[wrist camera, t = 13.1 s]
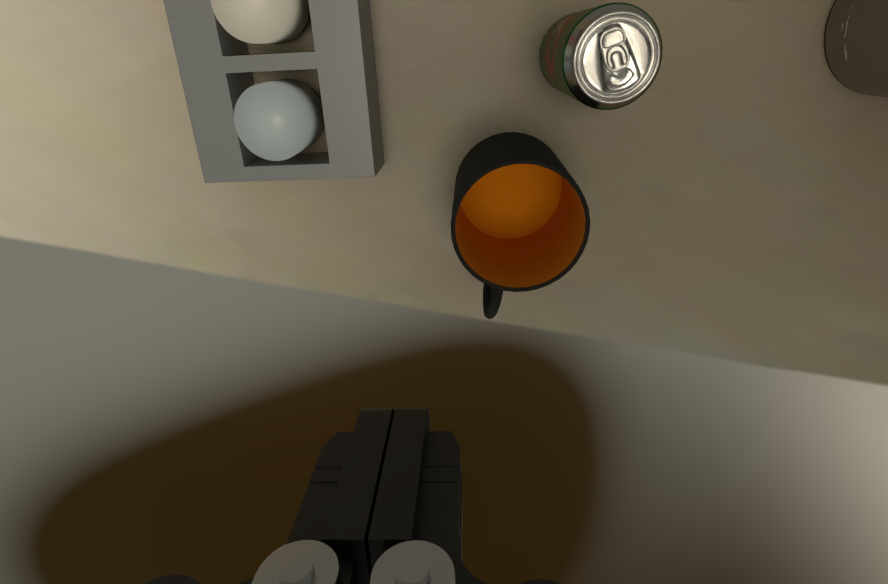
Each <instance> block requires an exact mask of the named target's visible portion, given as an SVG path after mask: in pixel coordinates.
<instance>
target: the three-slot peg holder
mask: <svg viewBox="0 0 888 584" xmlns="http://www.w3.org/2000/svg"><path fill="white" fill-rule="evenodd" d="M163 1H164V5H165V10H166V14H167V18H168V23H169V27H170V32H171V36H172V40H173V45H174V49H175V54H176V58H177V62H178V67H179V71H180V76H181V80H182V84H183V89H184V93H185V97H186V102H187V106H188V111H189V115H190V119H191V124H192V128H193V133H194V137H195V141H196V146H197V150H198V154H199V159H200V163H201V168H202V172H203V176H204V181H205V183H214V182H242V181H269V180H296V179H323V178H350V177H375V176H376V174H377V173H378V171H379V170H380V169H381V167H382V166H383V165H384V155H383V144H382V133H381V122H380V111H379V100H378V89H377V78H376V67H375V56H374V45H373V34H372V23H371V12H370V1H369V0H308V2H309V10H310V17H311V25H312V32H313V40H314V48H315V52H297V53H277V54H258V55H248V49H247V44H246V42H243V41H241V40H239V39H237V38H235V37H233V36H232V35H231V34H229V33H228V32H227V31H226V30H225V29H224V28H223V27H222V25H221V24H220V23H219V21H218V20H217V18H216V16H215V14H214V12H213V9H212V6H211V2H210V0H163ZM303 69H317V70H318V78H319V86H320V93H321V101H322V108H323V116H324V123H325V131H326V139H327V146H328V152H322V153H298V154H296V155H295V156H293V157H291V158H289V159H286V160H282V161H271V160H266V159H263V158H261V157H259V156H257V155H255V154H254V153H252V152H251V151H250V150H249V149H248V148H247V147H246V146H245V145H244V144H243V142H242V141H241V139H240V138H239V136H238V134H237V131H236V128H235V124H234V109H235V105H236V103H237V100H238V99H239V97H240V95H241V94H242V93H243V92H244V91H245V90H246V89H248V88H249V87H251V86H253V85H254V83H253V78H252V72H263V71H283V70H303Z"/></svg>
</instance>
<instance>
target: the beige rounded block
mask: <svg viewBox="0 0 888 584" xmlns="http://www.w3.org/2000/svg"><path fill="white" fill-rule="evenodd" d="M210 2H211V6H212V9H213V12H214V14H215V16H216V18H217V20H218V21H219V23H220V24H221V25H222V27H223V28H224V29H225V30H226V31H227V32H228V33H229V34H231V35H232V36H233V37H235V38H237V39H239V40H241V41H243V42H247V43H252V44H280V43H286V42H289V41H291V40H293V39H294V38H296V37H297V36H298V35H299V34H300V33H301V32H302V30H303V29H304V27H305V25H306V23H307V20H308V16H309V2H308V0H210Z"/></svg>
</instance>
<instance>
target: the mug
mask: <svg viewBox="0 0 888 584" xmlns="http://www.w3.org/2000/svg"><path fill="white" fill-rule="evenodd" d="M589 230H590V216H589V209H588V206H587V203H586V200H585V197H584V195H583V194H582V192H581V190H580V188H579V187H578V185H577V184H576V182H575V181H574V179H573V178H572V177H571V175H570V174H569V173H568V171H567V170H566V169H565V167H564V166H563V165H562V163H561V162H560V161H559V159H558V158H557V156H556V155H555V154H554V153H553V152H552V150H551V149H550V148H549V147H548V146H547V145H546V144H544V143H543V142H542V141H540V140H538V139H536V138H535V137H533V136H530V135H526V134H523V133H515V132H510V133H501V134H497V135H493V136H491V137H489V138H486V139H484V140H483V141H481V142H480V143H478V144H477V145H476V146H475V147H473V148H472V149H471V150H470V151H469V153H468V154H467V155H466V156H465V158H464V159H463V161H462V163H461V165H460V167H459V170H458V173H457V176H456V184H455V192H454V201H453V210H452V219H451V237H452V242H453V246H454V249H455V251H456V254H457V256H458V258H459V260H460V261H461V263H462V264H463V266H464V267H465V268H466V269H467V270H468V271H469V272H470V273H471V274H472V275H473V276H474V277H475V278H477V279H478V280H479V281H481V282H482V283H484V288H483V308H484V315H485V317H486V318H488V319H491V318H493V317H494V316H495V315H496V314H497V312H498V309H499V306H500V303H501V299H502V294H503V290H504V291H512V292H522V291H530V290H535V289H539V288H542V287H545V286H547V285H549V284H551V283H553V282H555V281H557V280H558V279H560V278H561V277H562V276H564V275H565V274H566V273H567V272H568V271H569V270H570V269H571V268H572V267H573V266H574V265H575V264H576V262H577V261H578V259H579V258H580V256H581V255H582V253H583V251H584V248H585V246H586V244H587V240H588V236H589ZM492 289H493V290H492Z"/></svg>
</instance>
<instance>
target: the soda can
mask: <svg viewBox="0 0 888 584" xmlns="http://www.w3.org/2000/svg"><path fill="white" fill-rule="evenodd" d="M661 59H662V39H661V36H660V32H659V30H658V27H657V25H656V23H655V22H654V21H653V19H652V18H651V17H650V16H649V15H648V14H647V13H646V12H645V11H643V10H642V9H640V8H639V7H636V6H634V5H631V4H627V3H609V4H605V5H601V6H598V7H594V8H591V9H587V10H584V11H580V12H577V13H573V14H570V15H567V16H565V17H563V18H561V19H560V20H558V21H557V22H556V23H554V24H553V25H552V26H551V28H550V29H549V30H548V31H547V33H546V35H545V37H544V39H543V41H542V44H541V48H540V66H541V70H542V72H543V75H544V76H545V78H546V80H547V81H548V82H549V83H550V84H551V85H552V86H553V87H554V88H556V89H558V90H559V91H561V92H563V93H565V94H567V95H568V96H570V97H572V98H574V99H576V100H578V101H579V102H581V103H583V104H585V105H587V106H589V107H592V108H595V109H600V110H611V109H617V108H620V107H624V106H626V105H628V104H630V103H632V102H633V101H635V100H637V99H638V98H639V97H640V96H641V95H643V94H644V93H645V92H646V90H647V89H648V88H649V87H650V86H651V84H652V83H653V81H654V79H655V77H656V75H657V73H658V71H659V68H660V65H661Z"/></svg>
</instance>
